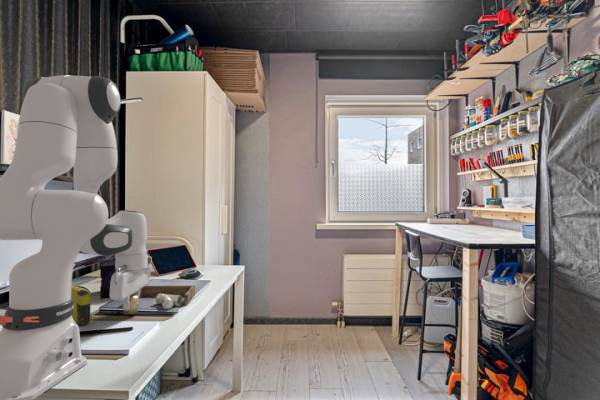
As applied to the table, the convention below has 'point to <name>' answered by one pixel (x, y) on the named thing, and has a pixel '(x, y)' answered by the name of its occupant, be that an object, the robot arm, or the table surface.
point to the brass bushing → (132, 304)
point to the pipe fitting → (168, 300)
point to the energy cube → (106, 277)
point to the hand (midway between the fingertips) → (130, 306)
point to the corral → (169, 291)
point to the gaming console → (81, 305)
